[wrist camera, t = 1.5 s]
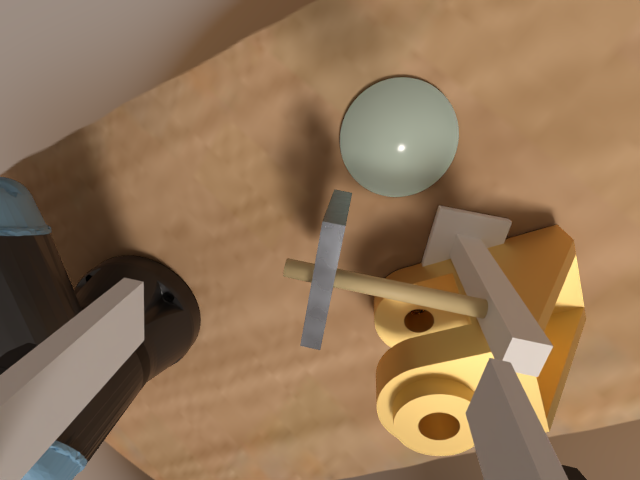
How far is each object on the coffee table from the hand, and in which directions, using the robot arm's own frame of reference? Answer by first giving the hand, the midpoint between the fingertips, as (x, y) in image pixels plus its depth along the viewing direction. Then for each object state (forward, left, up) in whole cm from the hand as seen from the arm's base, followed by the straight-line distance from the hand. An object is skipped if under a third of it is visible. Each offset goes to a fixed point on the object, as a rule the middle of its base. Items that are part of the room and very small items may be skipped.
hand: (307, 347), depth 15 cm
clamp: (+15, -9, -27) cm, 32 cm away
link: (0, -4, -19) cm, 20 cm away
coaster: (+4, +5, -27) cm, 27 cm away
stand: (+7, -4, -27) cm, 28 cm away
